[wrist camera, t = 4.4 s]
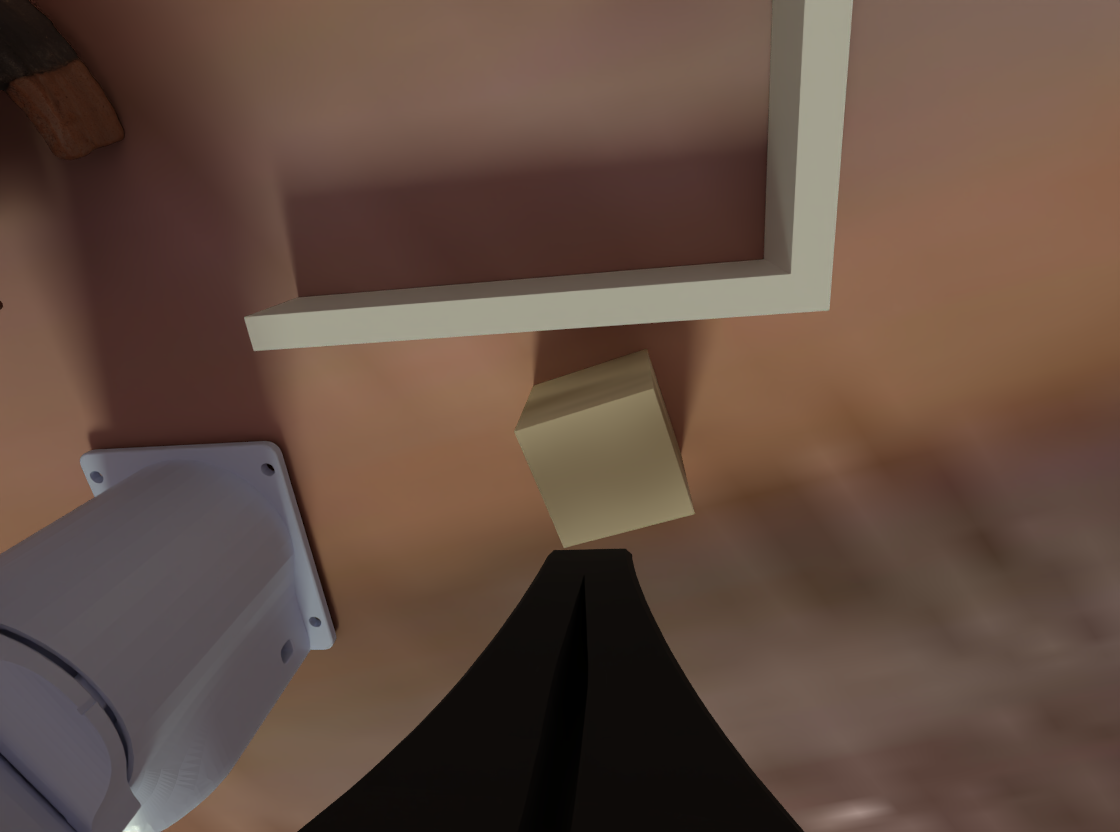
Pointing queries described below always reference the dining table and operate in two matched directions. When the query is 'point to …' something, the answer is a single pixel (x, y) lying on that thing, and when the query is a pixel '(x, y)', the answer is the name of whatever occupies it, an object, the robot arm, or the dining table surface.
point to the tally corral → (658, 293)
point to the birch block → (604, 450)
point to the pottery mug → (52, 84)
